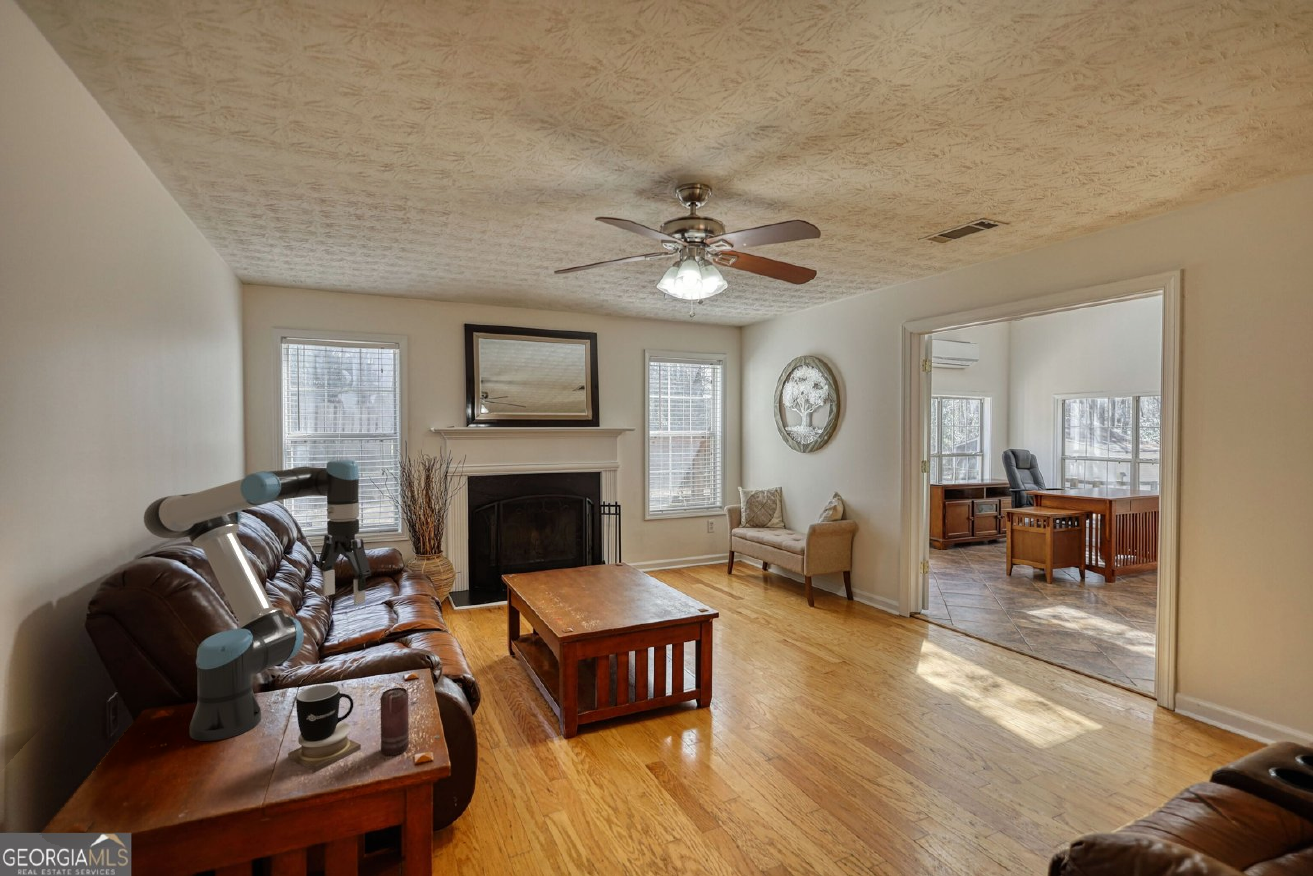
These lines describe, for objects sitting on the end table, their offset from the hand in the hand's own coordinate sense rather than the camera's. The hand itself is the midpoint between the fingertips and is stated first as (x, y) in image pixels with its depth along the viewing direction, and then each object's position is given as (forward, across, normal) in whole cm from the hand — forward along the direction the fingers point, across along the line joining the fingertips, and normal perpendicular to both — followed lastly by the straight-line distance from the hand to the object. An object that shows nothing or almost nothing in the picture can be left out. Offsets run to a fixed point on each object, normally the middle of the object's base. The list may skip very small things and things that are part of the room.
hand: (344, 598), depth 165 cm
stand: (+31, +14, -14) cm, 37 cm away
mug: (+27, +14, -14) cm, 33 cm away
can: (+32, +26, -4) cm, 41 cm away
